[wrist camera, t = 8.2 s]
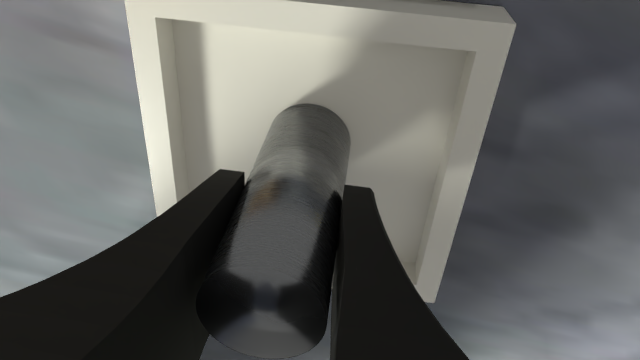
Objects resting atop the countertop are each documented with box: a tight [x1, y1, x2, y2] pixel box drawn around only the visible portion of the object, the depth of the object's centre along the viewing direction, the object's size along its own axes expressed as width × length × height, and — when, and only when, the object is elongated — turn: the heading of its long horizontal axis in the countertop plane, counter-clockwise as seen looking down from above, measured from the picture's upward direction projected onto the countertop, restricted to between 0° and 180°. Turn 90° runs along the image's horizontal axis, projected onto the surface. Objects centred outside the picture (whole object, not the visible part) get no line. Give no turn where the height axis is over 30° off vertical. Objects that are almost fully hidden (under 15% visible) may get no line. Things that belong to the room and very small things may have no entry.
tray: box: [125, 0, 517, 303], centre depth 14 cm, size 9×9×2 cm
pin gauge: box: [196, 103, 351, 359], centre depth 11 cm, size 2×2×6 cm
